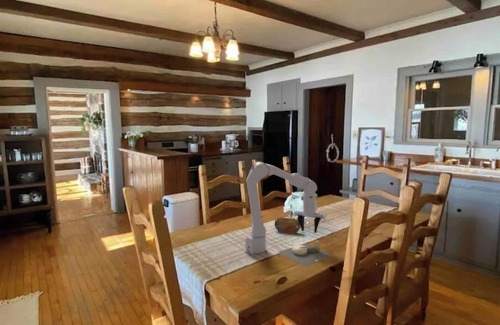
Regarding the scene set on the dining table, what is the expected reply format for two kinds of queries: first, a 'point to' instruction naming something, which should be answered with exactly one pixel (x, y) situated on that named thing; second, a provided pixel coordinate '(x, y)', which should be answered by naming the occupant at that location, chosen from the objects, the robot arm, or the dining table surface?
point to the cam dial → (305, 249)
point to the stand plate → (305, 256)
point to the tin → (287, 225)
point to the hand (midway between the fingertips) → (309, 231)
